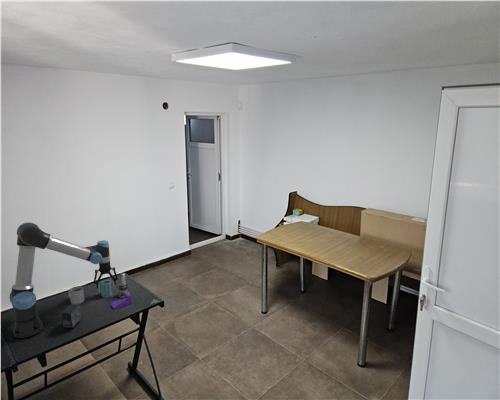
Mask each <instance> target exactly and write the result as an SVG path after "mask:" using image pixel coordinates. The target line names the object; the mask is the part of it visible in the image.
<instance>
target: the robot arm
mask: <svg viewBox="0 0 500 400" xmlns="http://www.w3.org/2000/svg"><path fill="white" fill-rule="evenodd" d="M16 235H17V239H16V241H17V242H16V246H17V247H18V255H17V256H18V258H17V263H16V264H17V267H16V273H15V282H14V283H15V284H13V285H12V286H11V291H10V293H9V301H10V303H11V306H12V308H13V314H14V319H15V321H14V322H15V323H14V326H13V331H12V332H13V336H14V338H16V339H17V338H19V339H24V338H29V337H32V336H35V335H37V334H38V333H40V332H41V331H43V330H42V329H43V328H44V327H43V325H44V324H43V322H42V320H41V318H40V317H39V312H38V304H37V296H36V294H35V293H34V290H35V286H34V284H33V283H32V281H33V274H34V273H33V272H34V264H35V255H36V254H35V253H36V248H37V249H41V250H45V249H48V250H51V251H54V252H57V253H61V254H65V255H67V256H71V257H74V258H76V259H80V260H84V261H87V262H90V263H91V264H92V265H98V269H94V273H95V274H94V278H93V284H96V289H98V293H101V284H100V282H101V279H102V277H103V275H109V277H111V279H112V291H114V290H115V286H116V285H117V281H118V280H119V277H118V274H117V271H116V266H111V256H110V255H111V254H110V244H109V241H108V240H107V239H106V240H104V239H103V240H98V241H97V242H96V244H95V245H90V246H81V245H78V244H75V243H72V242H69V241H66V240H62V239H59V238H57V237H53V236H52V235H51V234H50V233H47V232H45V231H43V230H42V229H41V228H40V227H39V226H38V224H37V223H34V222H31V221H29V222H28V221H27V222H24V223H22V224H20V225H19V226H18V227H17V230H16ZM111 271H113V273H112V272H111ZM98 273H99V276H98ZM113 274H114V275H113ZM97 276H98V278H97Z"/></svg>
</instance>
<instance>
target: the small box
mask: <svg viewBox="0 0 500 400" xmlns="http://www.w3.org/2000/svg"><path fill="white" fill-rule="evenodd" d="M61 320H62V328H63V329H73V328H74V327H75V326H76V325H77V324H79V322H80V321H81V320H82V316H81V306H80V304H71V303H70V305H68V306H67V307H66V308H65V309H64V310H63V311H62V312H61Z"/></svg>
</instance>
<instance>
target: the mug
mask: <svg viewBox="0 0 500 400" xmlns="http://www.w3.org/2000/svg"><path fill="white" fill-rule="evenodd" d="M84 288H85V287H84V286H82V285H81V286H80V285H77V286H72V287H71V288H69V290H68V292H67V296H68V298H69V300H70V305H71V304H76V305H80V304H82V303H84V301H85V300H86V299H85V290H84Z"/></svg>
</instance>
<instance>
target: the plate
mask: <svg viewBox="0 0 500 400" xmlns="http://www.w3.org/2000/svg"><path fill="white" fill-rule="evenodd" d="M127 293H129V294H130V295H131V293H130V292H129V291H127ZM118 297H119V298H121V299H125V296H121V292H120V293H119V294H118Z"/></svg>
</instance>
